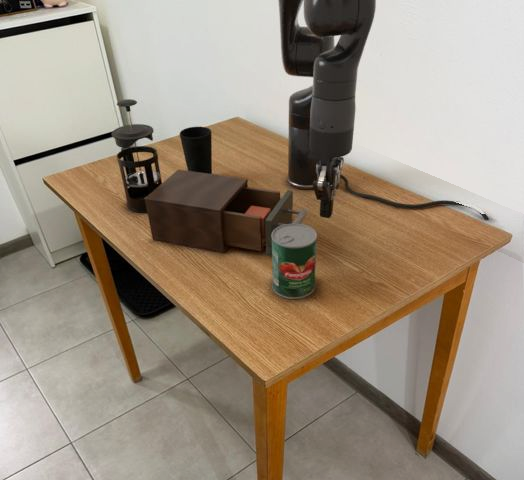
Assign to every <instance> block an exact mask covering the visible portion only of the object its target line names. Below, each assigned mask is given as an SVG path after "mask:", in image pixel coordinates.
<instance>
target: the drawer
mask: <svg viewBox="0 0 524 480" xmlns="http://www.w3.org/2000/svg"><path fill="white" fill-rule="evenodd" d="M250 206H258V207H264V208H271V213H270V214H269V216H268V217H267V218H266V220H265V232H266V236H265V237H262V222H261V216H255V215H248V214H245V213H246V211H247V210H248V209H249V208H250ZM293 215H296V216H295V218H294V217H293ZM307 215H308V211H307V209H306V208H302V209H300V210H297V209H294V190H291V189H287V190H286V191H285V193H284V194H283V195H282V197H281V191H280V190H273V189H266V188H259V187H253V186H252V187H251V186H248V187H245V186H244V187H243V188H242V190H241V191H240V192H239V193H238V194H237V195H236V196H235V197H234V199H233V200H232V201H231V202H230V203H229V204H228V205H227V207H226V208H225V209H224V210H223V211H222V223H223V234H224V245H229V247H230V246H231V247H237V248H241V249H247V250H252V251H258V252H262V250H263V249H264V247H265V255H266V257H267V256H268V257H272V237H271V235H272V232H273V230H275V229H276V228H277V227H279V226H282V225H285V224H303V223H302V222H303V221H304V219H305V218H306V216H307ZM293 219H294V220H293Z"/></svg>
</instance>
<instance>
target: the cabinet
mask: <svg viewBox="0 0 524 480" xmlns="http://www.w3.org/2000/svg"><path fill="white" fill-rule="evenodd" d="M244 186H245V187H249V180H248V178H243V177H237V176H236V177H235V176H230V175H229V176H228V175H222V174H213V173H212V174H207V173H200V172H193V171H188V170H183V169H177V170H175V171H174V172H173V173H172V174H171V175H170V176H168V178H166V179H165V180H164V181H162V184H161V185H160V186H159V187H157V188H156V189H155V190H154V191H153V192H152V193H150V194H149V195H148V196H145V197H144V199H145V203H146V208H147V213H146V214H147V218H148V222H149V228H150V233H151V237H152V241H154V242H160V243H166V244H172V245H176V246H182V247H187V248H193V249H199V250H205V251H210V252H216V253H220V254H221V253H222V254H225V252H226V251H227V250H228V248H229V247H230V246H229V245H224V234H223V223H222V211H223V210H224V209H225V208H226V207H227V205H228V204H229V203H230V202H231V201H232V200H233V199H234V197H235V196H236V195H237V194H238V193H239V192H240V191H241V190H242V188H243V187H244Z"/></svg>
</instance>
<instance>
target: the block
mask: <svg viewBox="0 0 524 480" xmlns="http://www.w3.org/2000/svg"><path fill="white" fill-rule="evenodd" d="M270 213H271V208H264V207H258V206H250V208H249V209H248V210H247V211H246V213H245V214H248V215H255V216H261V222H262V237H265V236H266V232H265V220H266V218H267V217H268V216H269V214H270Z"/></svg>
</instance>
